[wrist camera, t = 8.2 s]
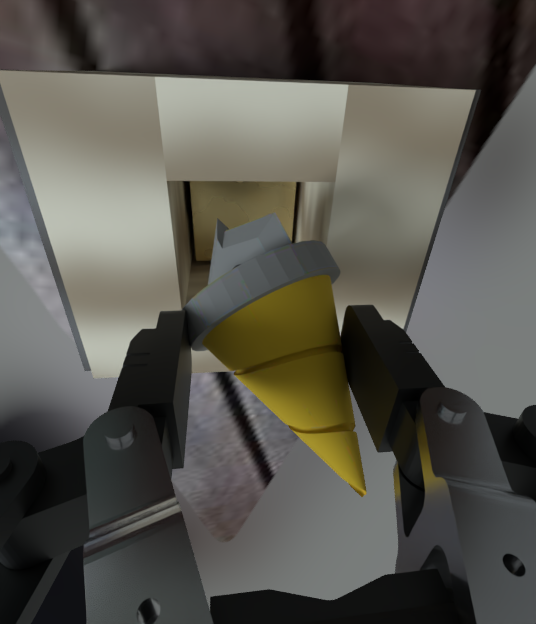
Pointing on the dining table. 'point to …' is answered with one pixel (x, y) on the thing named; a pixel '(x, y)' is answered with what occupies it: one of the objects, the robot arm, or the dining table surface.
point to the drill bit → (281, 334)
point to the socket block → (224, 167)
